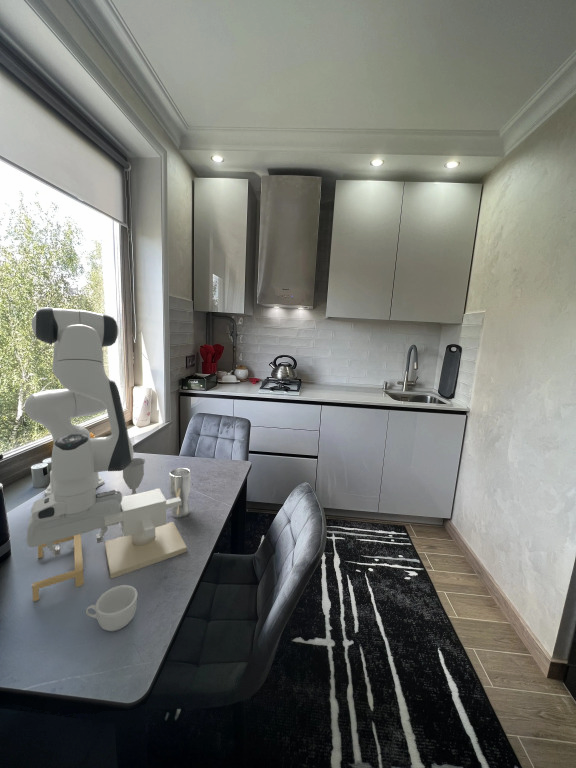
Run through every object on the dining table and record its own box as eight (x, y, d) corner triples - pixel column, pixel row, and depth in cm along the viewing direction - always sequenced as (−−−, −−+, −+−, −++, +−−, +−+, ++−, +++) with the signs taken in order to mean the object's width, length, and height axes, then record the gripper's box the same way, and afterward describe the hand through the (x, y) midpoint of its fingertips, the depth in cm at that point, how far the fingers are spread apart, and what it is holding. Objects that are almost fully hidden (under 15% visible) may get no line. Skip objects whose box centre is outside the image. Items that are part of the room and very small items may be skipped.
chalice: (122, 519, 102) (120, 468, 99) (122, 509, 108) (120, 459, 105) (147, 515, 105) (145, 464, 102) (145, 504, 111) (144, 456, 108)
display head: (103, 546, 90) (101, 501, 87) (174, 525, 101) (173, 485, 98) (109, 579, 78) (107, 528, 76) (187, 551, 90) (187, 506, 87)
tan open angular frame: (33, 601, 71) (32, 586, 70) (38, 555, 85) (37, 542, 84) (83, 584, 77) (83, 570, 76) (81, 544, 90) (80, 531, 90)
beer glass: (184, 520, 104) (184, 478, 101) (165, 516, 105) (164, 475, 103) (194, 509, 110) (194, 469, 108) (176, 505, 112) (176, 466, 109)
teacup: (141, 603, 72) (141, 582, 71) (132, 634, 65) (131, 612, 64) (94, 608, 70) (92, 587, 69) (78, 642, 63) (77, 619, 62)
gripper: (119, 483, 88) (121, 528, 90) (25, 504, 76) (30, 555, 79) (123, 493, 83) (125, 540, 85) (23, 516, 71) (28, 570, 73)
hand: (79, 547), depth 82 cm, fingers open, 8 cm apart
